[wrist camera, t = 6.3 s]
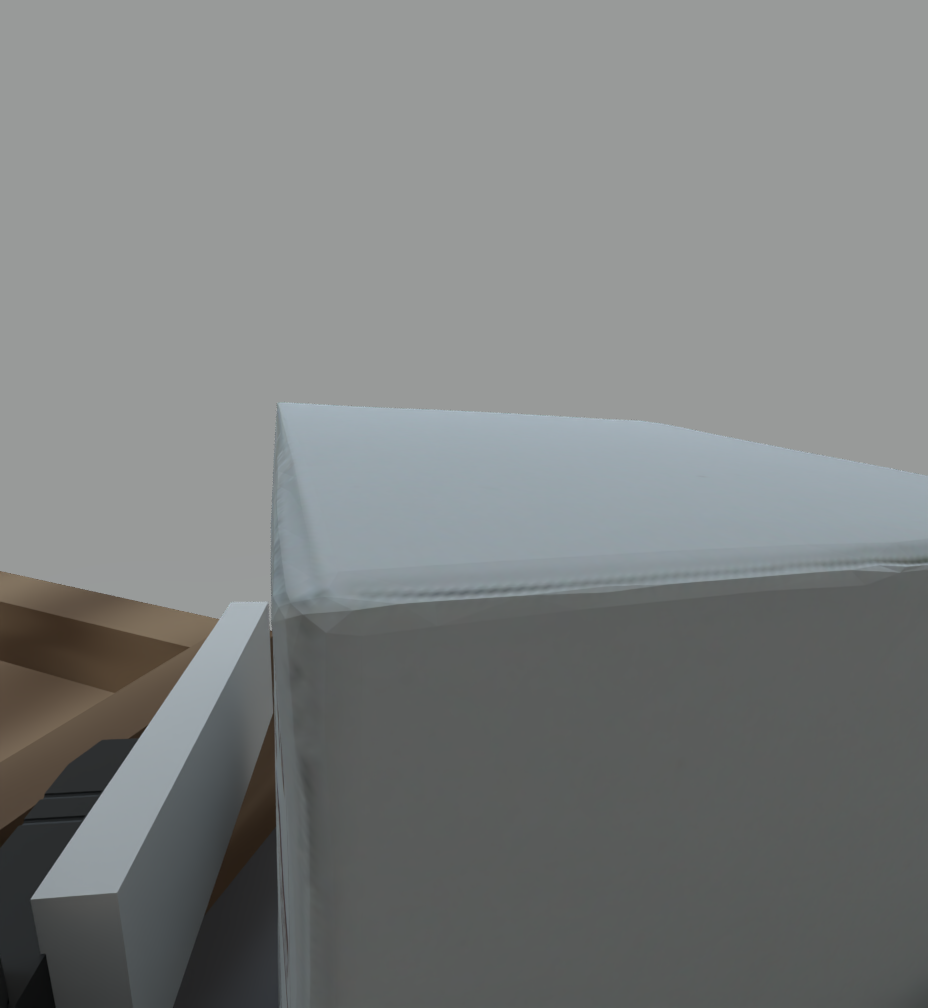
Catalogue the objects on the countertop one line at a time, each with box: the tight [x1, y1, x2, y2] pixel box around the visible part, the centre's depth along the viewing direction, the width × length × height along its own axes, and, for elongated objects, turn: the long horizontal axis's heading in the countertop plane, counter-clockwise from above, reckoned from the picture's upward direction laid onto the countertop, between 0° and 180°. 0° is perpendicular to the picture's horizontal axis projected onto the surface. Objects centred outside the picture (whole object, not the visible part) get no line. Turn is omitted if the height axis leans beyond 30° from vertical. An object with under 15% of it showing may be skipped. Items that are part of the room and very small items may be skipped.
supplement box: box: [271, 402, 928, 1008], centre depth 8 cm, size 7×7×13 cm
